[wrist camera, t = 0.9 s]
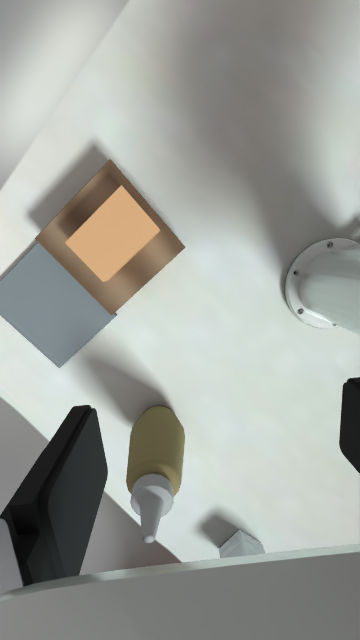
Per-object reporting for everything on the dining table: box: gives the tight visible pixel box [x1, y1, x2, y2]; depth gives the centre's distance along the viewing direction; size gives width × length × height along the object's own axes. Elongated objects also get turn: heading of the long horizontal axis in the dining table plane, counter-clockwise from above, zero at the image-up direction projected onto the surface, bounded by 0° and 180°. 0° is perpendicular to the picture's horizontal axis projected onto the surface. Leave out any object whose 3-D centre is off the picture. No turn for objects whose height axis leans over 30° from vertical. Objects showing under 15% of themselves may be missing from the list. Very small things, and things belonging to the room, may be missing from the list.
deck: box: [35, 160, 185, 316], centre depth 34 cm, size 13×13×4 cm
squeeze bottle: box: [126, 406, 185, 543], centre depth 33 cm, size 8×8×18 cm
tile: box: [65, 185, 160, 282], centre depth 31 cm, size 9×6×2 cm, turn 132°
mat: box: [0, 242, 117, 368], centre depth 37 cm, size 12×14×1 cm
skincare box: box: [219, 530, 265, 558], centre depth 46 cm, size 6×6×7 cm
